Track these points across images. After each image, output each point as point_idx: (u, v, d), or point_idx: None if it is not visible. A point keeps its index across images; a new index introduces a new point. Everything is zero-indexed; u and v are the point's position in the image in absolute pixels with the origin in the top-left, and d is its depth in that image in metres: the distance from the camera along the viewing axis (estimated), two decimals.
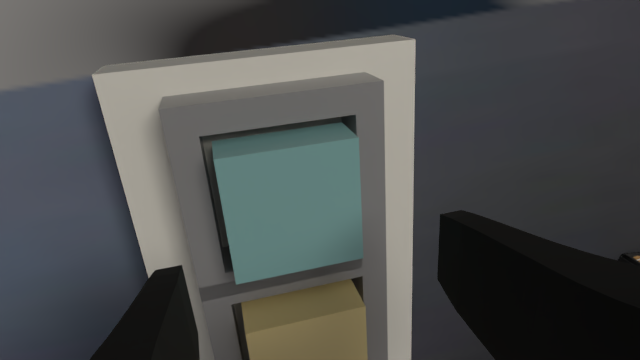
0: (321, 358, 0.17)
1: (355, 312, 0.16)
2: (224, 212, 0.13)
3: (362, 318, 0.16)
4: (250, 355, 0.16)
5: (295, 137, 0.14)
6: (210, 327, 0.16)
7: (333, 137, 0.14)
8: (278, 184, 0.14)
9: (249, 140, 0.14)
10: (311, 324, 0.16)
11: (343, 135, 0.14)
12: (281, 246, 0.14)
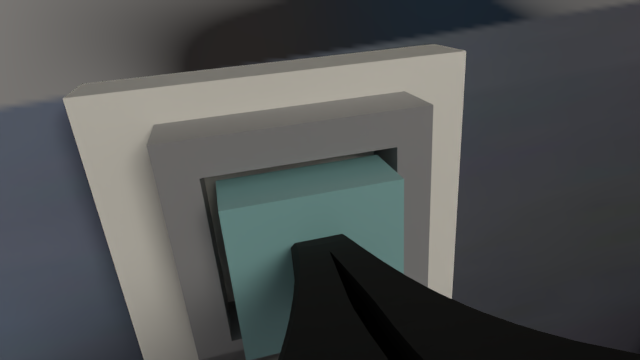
0: None
1: None
2: (232, 276, 0.10)
3: None
4: None
5: (322, 176, 0.11)
6: None
7: (370, 177, 0.11)
8: (301, 239, 0.11)
9: (263, 180, 0.11)
10: None
11: (383, 175, 0.11)
12: None
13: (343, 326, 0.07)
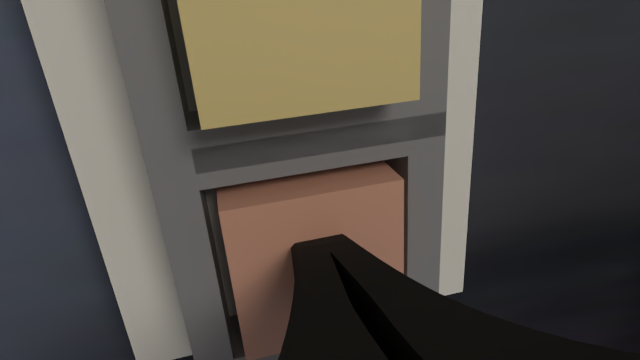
0: None
1: None
2: None
3: None
4: None
5: None
6: None
7: None
8: None
9: None
10: None
11: None
12: None
13: (343, 326, 0.07)
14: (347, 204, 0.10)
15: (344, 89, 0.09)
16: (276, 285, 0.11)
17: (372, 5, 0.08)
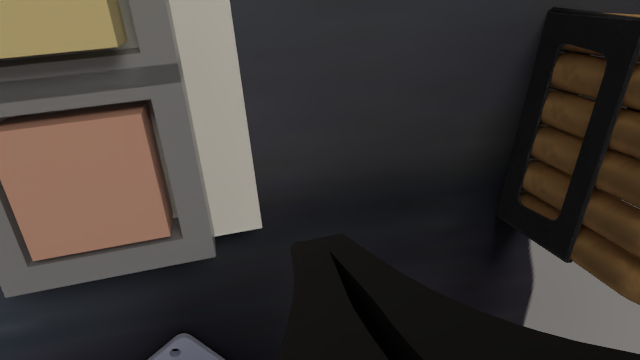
0: None
1: None
2: None
3: None
4: None
5: None
6: None
7: None
8: None
9: None
10: None
11: None
12: None
13: (343, 326, 0.07)
14: (95, 132, 0.14)
15: (48, 37, 0.11)
16: (46, 197, 0.14)
17: None
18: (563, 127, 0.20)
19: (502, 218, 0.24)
